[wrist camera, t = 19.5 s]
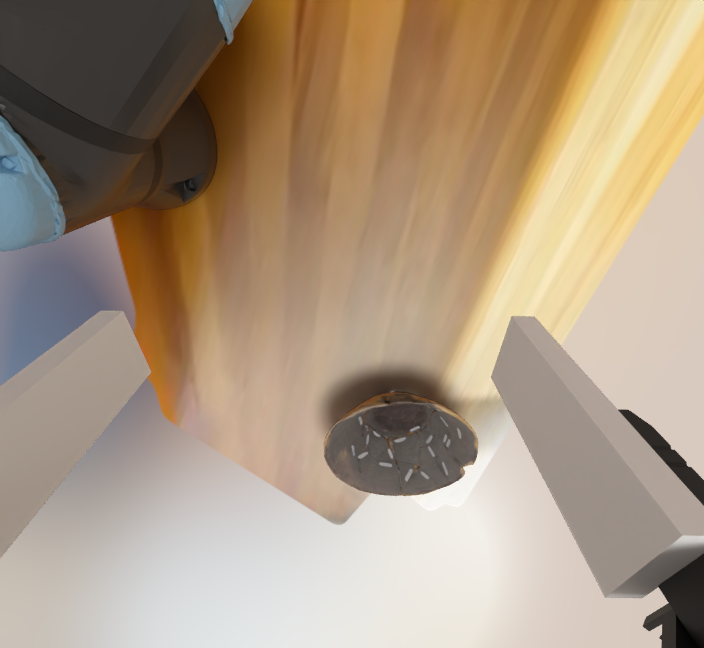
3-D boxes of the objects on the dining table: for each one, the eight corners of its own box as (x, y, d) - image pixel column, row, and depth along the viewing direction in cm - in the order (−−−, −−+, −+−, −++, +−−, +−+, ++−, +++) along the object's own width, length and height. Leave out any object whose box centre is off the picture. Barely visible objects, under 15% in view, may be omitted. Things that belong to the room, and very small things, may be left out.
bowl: (321, 360, 53) (314, 405, 44) (470, 354, 52) (492, 400, 43) (334, 452, 66) (331, 500, 58) (452, 449, 65) (467, 497, 57)
